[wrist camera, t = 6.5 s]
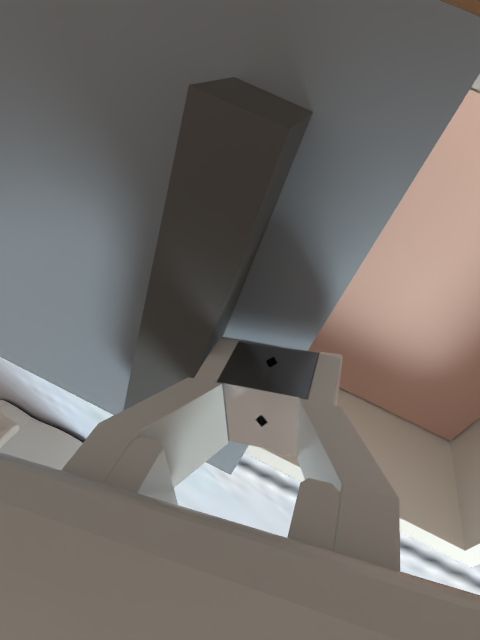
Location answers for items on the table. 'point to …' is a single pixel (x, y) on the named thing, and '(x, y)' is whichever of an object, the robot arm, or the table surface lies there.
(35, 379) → the table surface
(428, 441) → the base
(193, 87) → the grey flat rectangular panel
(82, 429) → the table surface
